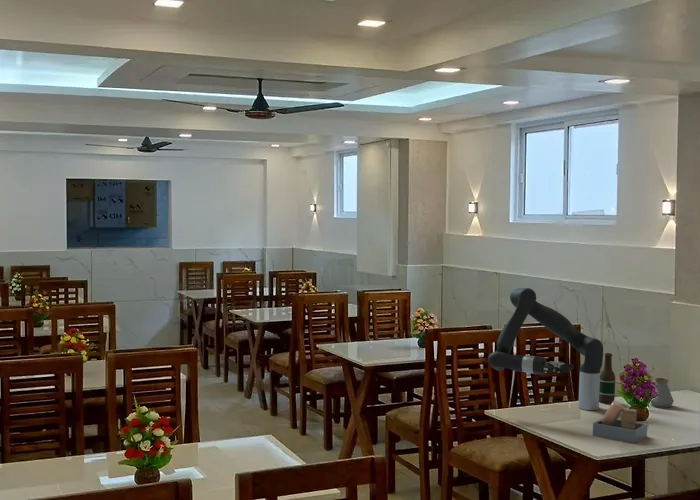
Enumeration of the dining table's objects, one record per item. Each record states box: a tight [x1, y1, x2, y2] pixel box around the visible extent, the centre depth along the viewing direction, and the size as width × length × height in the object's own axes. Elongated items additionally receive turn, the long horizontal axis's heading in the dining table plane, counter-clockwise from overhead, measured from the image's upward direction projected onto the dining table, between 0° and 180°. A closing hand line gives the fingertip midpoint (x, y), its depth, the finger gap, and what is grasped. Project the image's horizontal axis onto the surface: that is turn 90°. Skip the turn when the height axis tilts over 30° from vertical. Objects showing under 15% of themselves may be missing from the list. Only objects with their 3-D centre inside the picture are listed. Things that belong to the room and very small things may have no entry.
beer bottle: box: [599, 352, 616, 405], centre depth 397 cm, size 8×8×24 cm
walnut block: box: [621, 407, 638, 430], centre depth 335 cm, size 5×5×10 cm
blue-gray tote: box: [592, 418, 648, 444], centre depth 338 cm, size 14×18×5 cm
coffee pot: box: [650, 377, 674, 409], centre depth 391 cm, size 21×12×15 cm, turn 116°
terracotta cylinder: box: [601, 400, 625, 426], centre depth 340 cm, size 5×5×10 cm
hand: (571, 368), depth 353 cm, fingers open, 8 cm apart
